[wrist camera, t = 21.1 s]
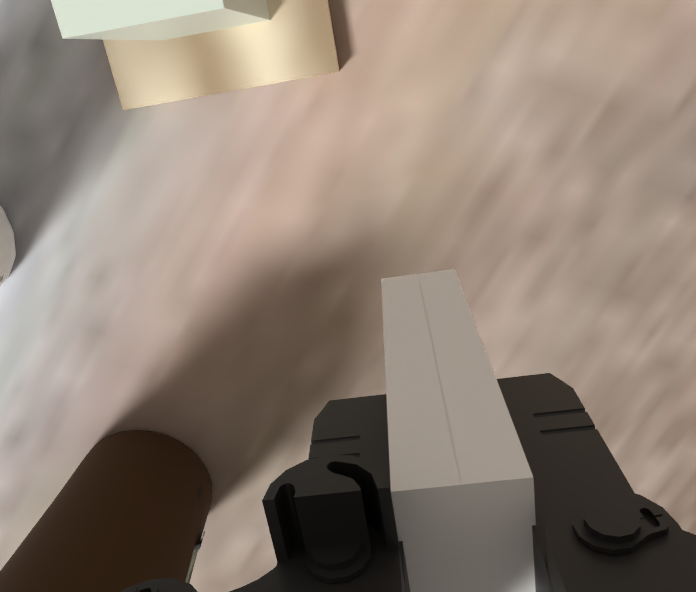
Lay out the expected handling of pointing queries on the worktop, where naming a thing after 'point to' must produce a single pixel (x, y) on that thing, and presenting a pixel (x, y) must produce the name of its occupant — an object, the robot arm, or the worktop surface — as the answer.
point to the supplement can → (6, 247)
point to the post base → (226, 56)
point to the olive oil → (118, 520)
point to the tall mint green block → (153, 17)
